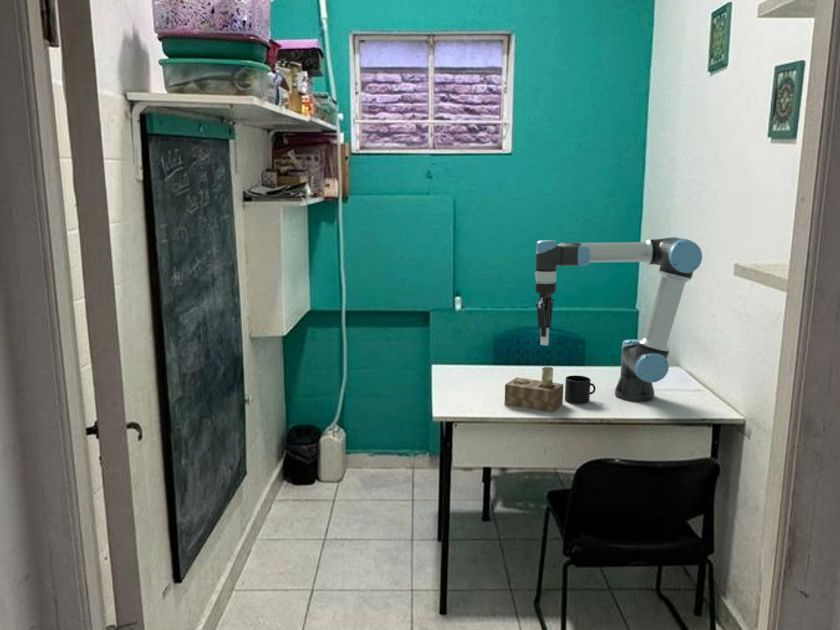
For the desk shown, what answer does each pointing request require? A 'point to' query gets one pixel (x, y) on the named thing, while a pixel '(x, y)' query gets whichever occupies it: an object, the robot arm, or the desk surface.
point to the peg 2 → (547, 377)
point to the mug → (578, 389)
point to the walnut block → (533, 395)
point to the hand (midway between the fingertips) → (544, 344)
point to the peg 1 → (522, 382)
